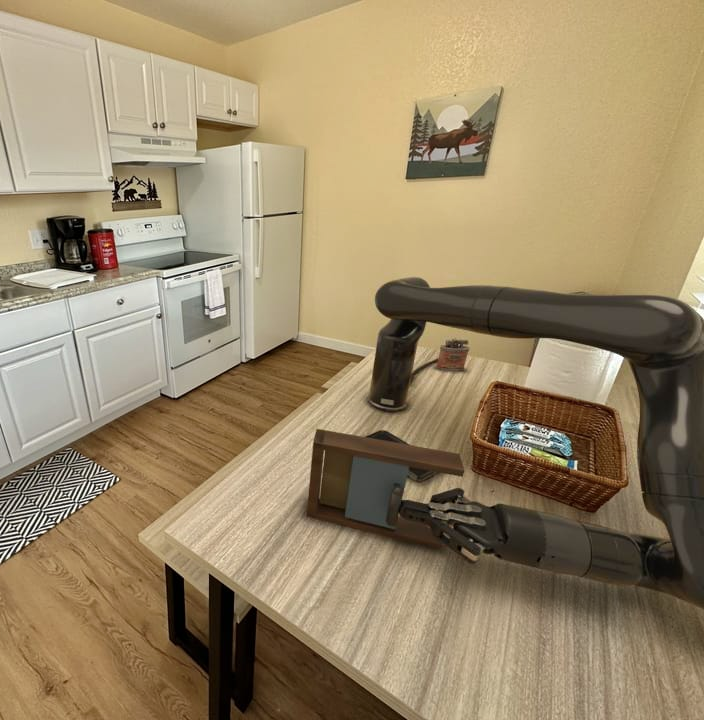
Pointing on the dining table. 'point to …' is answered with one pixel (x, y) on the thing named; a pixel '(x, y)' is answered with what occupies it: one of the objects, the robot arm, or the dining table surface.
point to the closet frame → (339, 472)
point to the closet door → (375, 491)
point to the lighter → (453, 355)
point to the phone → (386, 436)
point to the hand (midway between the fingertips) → (399, 508)
